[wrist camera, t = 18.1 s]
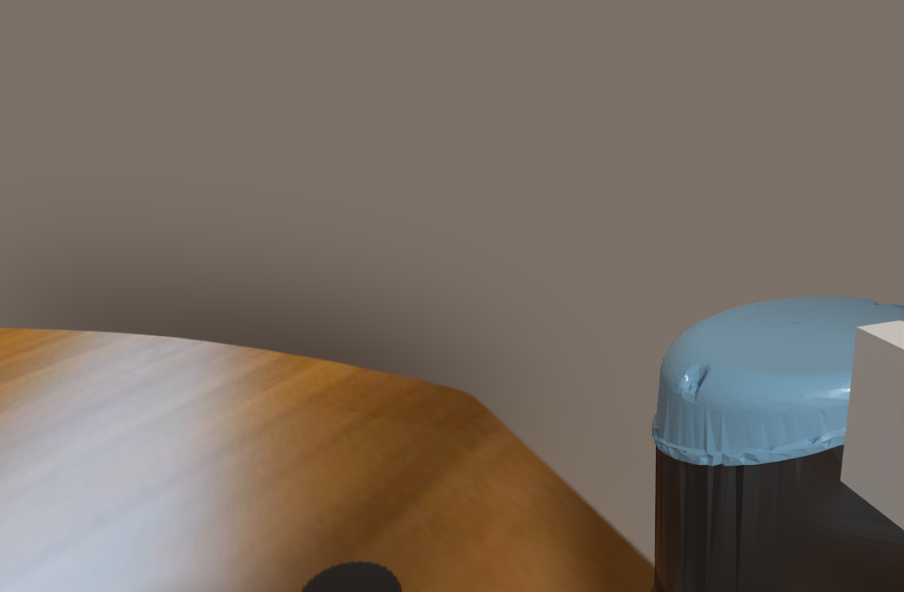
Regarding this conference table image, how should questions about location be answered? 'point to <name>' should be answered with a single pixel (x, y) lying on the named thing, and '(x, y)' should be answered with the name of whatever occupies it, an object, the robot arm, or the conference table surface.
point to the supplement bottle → (354, 579)
